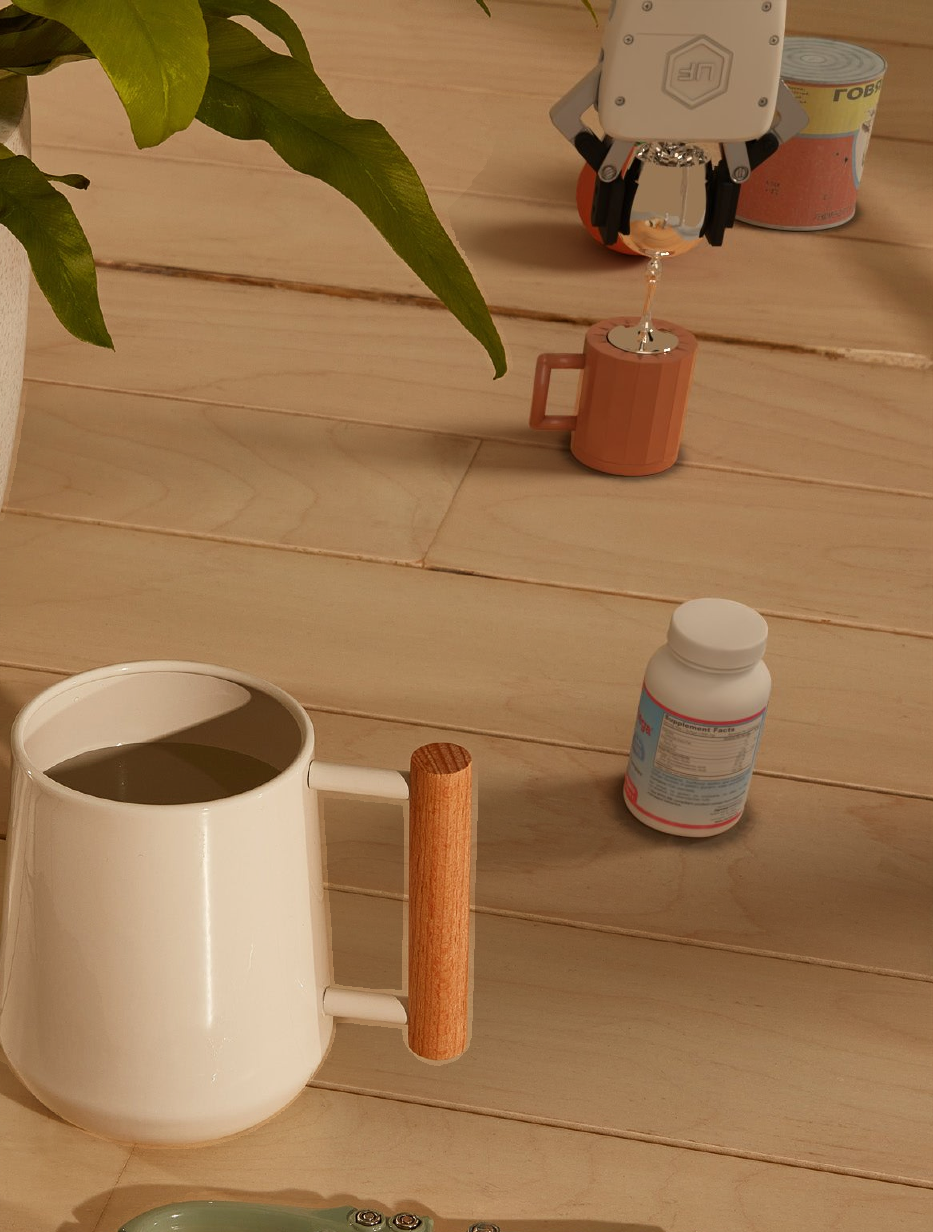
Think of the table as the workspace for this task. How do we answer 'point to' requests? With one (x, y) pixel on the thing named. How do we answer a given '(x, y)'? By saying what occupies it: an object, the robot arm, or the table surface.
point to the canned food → (818, 138)
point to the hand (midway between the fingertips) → (659, 235)
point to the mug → (621, 400)
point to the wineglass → (662, 224)
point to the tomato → (586, 198)
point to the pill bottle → (700, 720)
